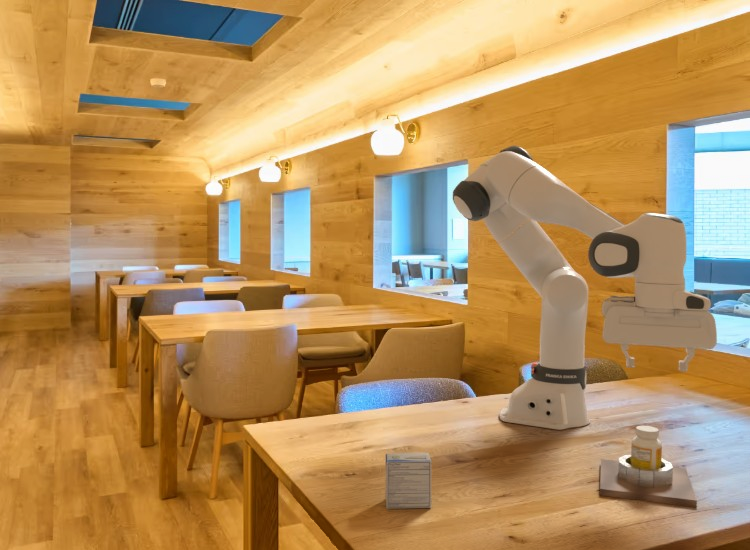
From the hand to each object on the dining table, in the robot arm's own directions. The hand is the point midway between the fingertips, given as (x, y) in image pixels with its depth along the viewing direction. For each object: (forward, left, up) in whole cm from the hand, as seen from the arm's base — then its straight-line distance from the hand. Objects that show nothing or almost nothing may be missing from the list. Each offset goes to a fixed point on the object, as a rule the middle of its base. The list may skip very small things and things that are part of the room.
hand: (656, 368), depth 128 cm
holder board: (-2, -4, -22) cm, 22 cm away
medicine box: (-42, -28, -22) cm, 55 cm away
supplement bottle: (-2, -4, -21) cm, 21 cm away
